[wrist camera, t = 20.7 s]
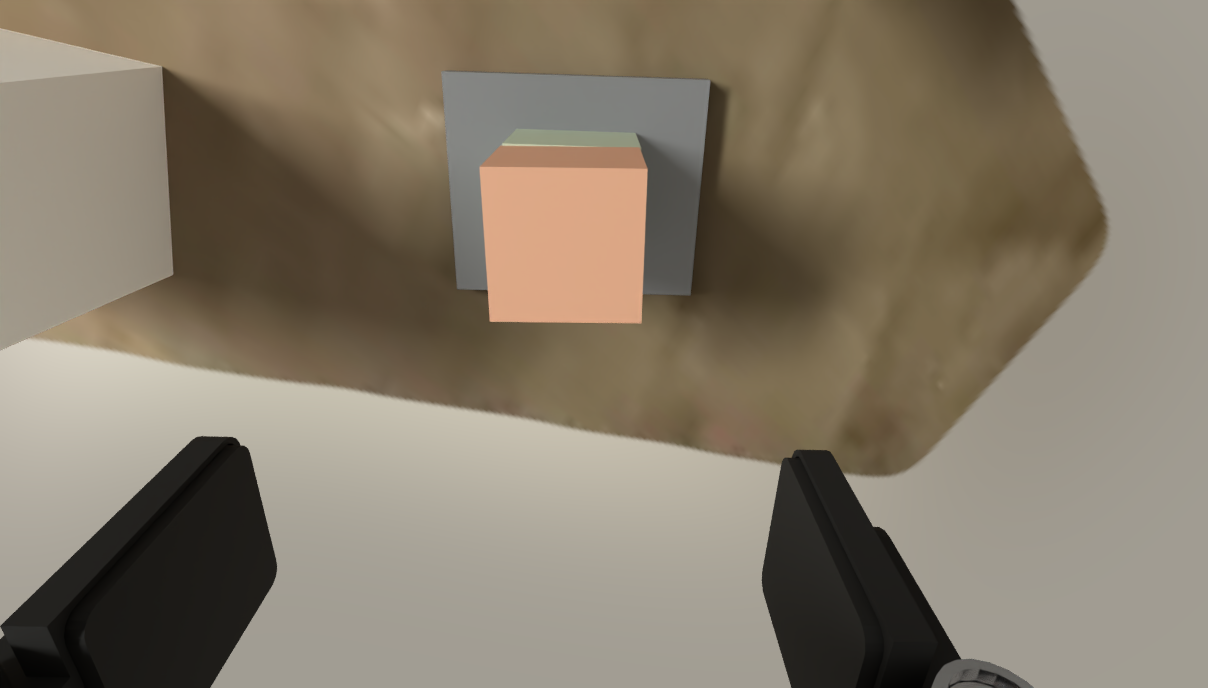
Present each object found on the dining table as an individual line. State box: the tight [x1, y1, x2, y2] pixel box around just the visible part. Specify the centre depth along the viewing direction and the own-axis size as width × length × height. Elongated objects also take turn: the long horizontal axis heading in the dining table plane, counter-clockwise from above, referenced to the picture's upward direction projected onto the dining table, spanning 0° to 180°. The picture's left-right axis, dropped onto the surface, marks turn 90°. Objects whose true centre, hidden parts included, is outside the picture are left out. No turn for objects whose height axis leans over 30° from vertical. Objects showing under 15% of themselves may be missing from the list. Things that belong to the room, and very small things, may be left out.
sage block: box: [502, 129, 641, 150], centre depth 33 cm, size 6×6×6 cm
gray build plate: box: [442, 71, 710, 295], centre depth 36 cm, size 12×14×1 cm
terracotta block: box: [479, 146, 648, 323], centre depth 28 cm, size 6×6×6 cm
